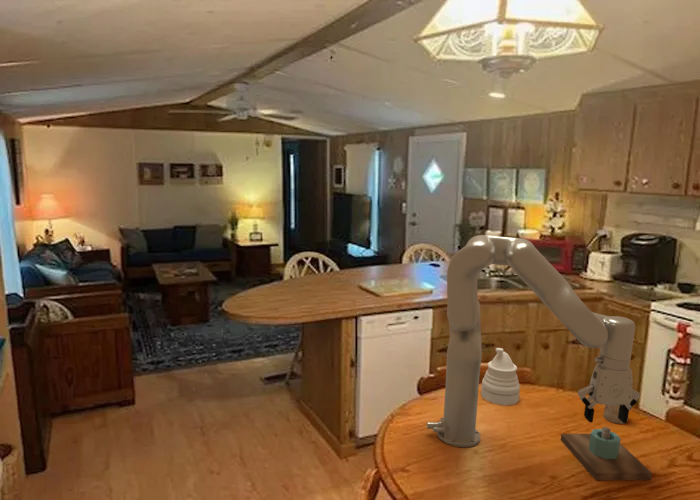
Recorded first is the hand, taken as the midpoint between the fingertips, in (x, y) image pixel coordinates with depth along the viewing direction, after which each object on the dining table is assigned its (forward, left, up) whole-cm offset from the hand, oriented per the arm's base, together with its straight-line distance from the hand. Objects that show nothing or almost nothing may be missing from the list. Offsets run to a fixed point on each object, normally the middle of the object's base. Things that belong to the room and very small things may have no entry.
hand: (605, 420), depth 144 cm
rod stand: (+1, 0, -11) cm, 11 cm away
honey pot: (-15, +39, -12) cm, 43 cm away
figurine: (+18, +23, -12) cm, 31 cm away
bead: (0, 0, -9) cm, 9 cm away
